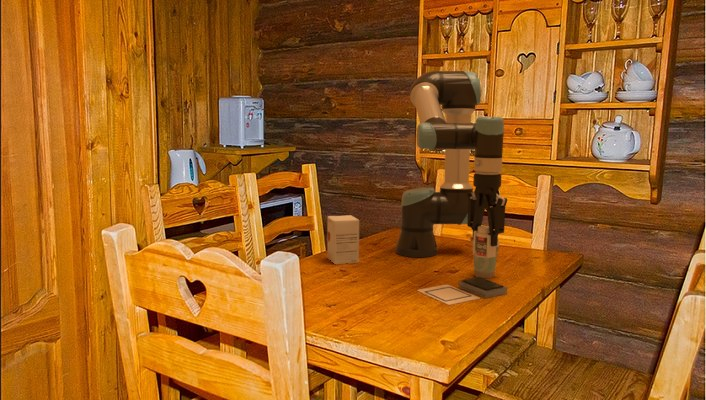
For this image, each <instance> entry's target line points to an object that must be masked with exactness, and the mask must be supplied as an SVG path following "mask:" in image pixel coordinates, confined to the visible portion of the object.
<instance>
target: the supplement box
mask: <svg viewBox="0 0 706 400" xmlns="http://www.w3.org/2000/svg"><path fill="white" fill-rule="evenodd" d="M326 219H327V220H326V221H327V231H326V232H327V259H328V260H329V261H330V260H331V261H330V262H331V263H332V262H333V263H334V265H335V264H336V265H345V264H346V263H348V264H358V263H359V262H360V261H359V260H360V253H359V252H360V220H359V219H358V218H357V217H356V216H353V215H352V214H351V215H350V214H349V215H348V214H346V215H329V216H327V218H326ZM333 263H332V264H333Z"/></svg>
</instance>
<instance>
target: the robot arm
mask: <svg viewBox="0 0 706 400" xmlns="http://www.w3.org/2000/svg"><path fill="white" fill-rule="evenodd" d="M409 98H410V101H411V103H412V105H413V106H414V107H415V108H416V113H417V116H418V119H419V120H418V121H419V123H418V125H417V129H416V144H417V147H418V148H420V149H425V150H445V151H444V182H443V183H442V184H441V185H440V186H439V191H436V190H435V188H434V187H418V188H417V187H415V188H410V189H408V190H404V191H403V193H402V195H401V203H400V206H401V215H400V233H399V236H398V238H397V243H396V244H395V253H396V254H397V255H401V256H403V257H410V258H411V257H412V258H428V257H429V258H430V257H434V256H436V255H438V253H439V251H438V250H439V249H438V248H439V247H438V244H437V240H436V237H435V234H434V225H457V226H461V225H467V227H468V228H471V230H472V235H471V236H472V241H473V245H472V254H473V253H474V254H475V248H476V234H477V233H478V226H483V225H482V224H483V221H484V216H485V211H486V214H487V222H488V226H489V231H490V233H488V234H487V254H486V257H487V258H491V257H495V256H496V246H497V243H498V240H499V237H498V236H499V235H500V234H504V233H505V222H506V221H505V220H506V206H507V203H508V198H507V197H502V196H501V195H500V190H499V189H500V188H501V186H502V174H501V173H502V172H503V152H504V151H503V150H504V135H505V134H504V133H505V122H504V121H505V120H504V118H503V117H501V116H477V118H476V120H475V122H474V123H473V122H472V121H471V120H472V119H471V118H472V114H473V113H474V112H475V111H476V106H479V105H480V104H481V100H482V85H481V81H480V78H479V76H478V74H477V73H476V72H474V71H467V70H466V71H465V70H433V71H428V72H426V73H423V74H422V75H420V76H418V77H417V78H416V79H415V80H414V82H413V83H412V84H411V87H410V90H409ZM444 114H445V115H444ZM444 116H445V117H444ZM471 122H472V123H471ZM471 150H474V159H473V161H474V163H473V164H474V165H473V171H474V174H473V185H471V184H470V158H471V157H470V155H471V154H470V152H471ZM473 186H474V187H475V189H474V187H473Z"/></svg>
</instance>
